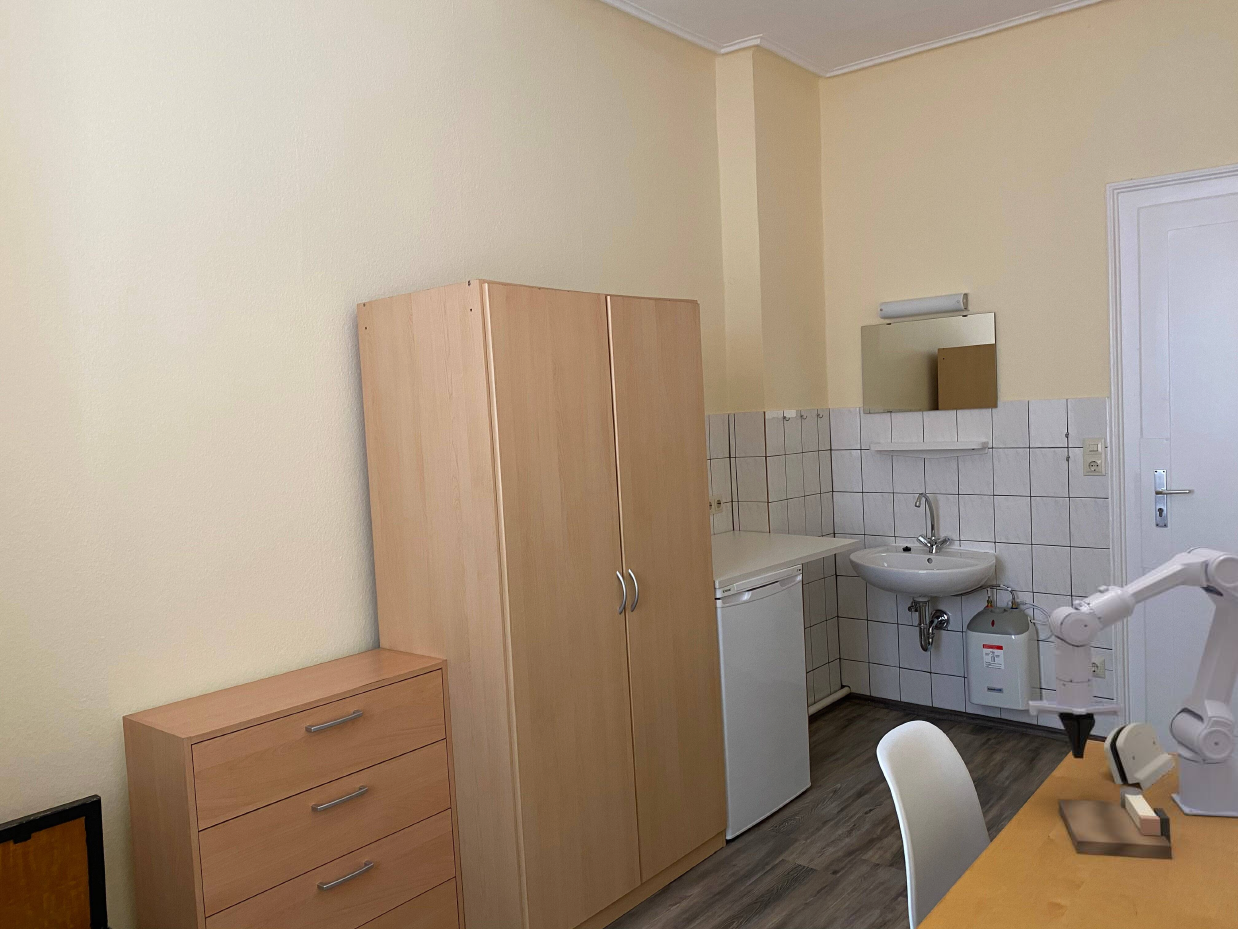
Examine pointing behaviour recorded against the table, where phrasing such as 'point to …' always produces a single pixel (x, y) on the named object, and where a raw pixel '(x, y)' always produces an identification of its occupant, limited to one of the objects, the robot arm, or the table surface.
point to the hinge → (1137, 755)
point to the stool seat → (1112, 830)
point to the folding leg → (1140, 811)
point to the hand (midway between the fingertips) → (1077, 756)
